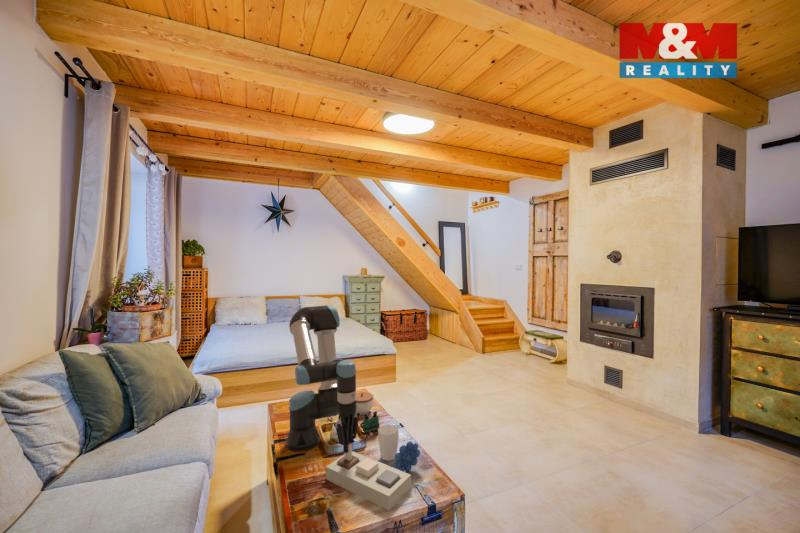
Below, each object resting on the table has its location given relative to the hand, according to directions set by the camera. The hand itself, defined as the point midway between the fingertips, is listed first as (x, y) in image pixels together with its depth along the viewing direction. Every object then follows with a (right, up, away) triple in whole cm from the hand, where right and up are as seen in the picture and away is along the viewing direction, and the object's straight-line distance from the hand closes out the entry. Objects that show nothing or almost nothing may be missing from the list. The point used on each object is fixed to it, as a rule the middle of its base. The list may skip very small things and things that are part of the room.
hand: (348, 458), depth 138 cm
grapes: (+23, -6, +2) cm, 24 cm away
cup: (+16, -6, +12) cm, 21 cm away
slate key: (+17, -4, -11) cm, 20 cm away
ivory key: (+8, -3, -6) cm, 10 cm away
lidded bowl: (-1, -6, +57) cm, 57 cm away
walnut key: (0, -4, 0) cm, 4 cm away
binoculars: (+5, -6, +34) cm, 35 cm away
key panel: (+8, -6, -5) cm, 12 cm away
